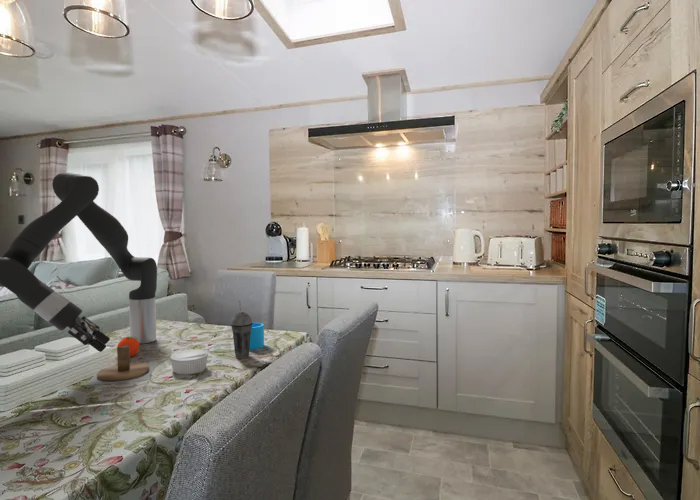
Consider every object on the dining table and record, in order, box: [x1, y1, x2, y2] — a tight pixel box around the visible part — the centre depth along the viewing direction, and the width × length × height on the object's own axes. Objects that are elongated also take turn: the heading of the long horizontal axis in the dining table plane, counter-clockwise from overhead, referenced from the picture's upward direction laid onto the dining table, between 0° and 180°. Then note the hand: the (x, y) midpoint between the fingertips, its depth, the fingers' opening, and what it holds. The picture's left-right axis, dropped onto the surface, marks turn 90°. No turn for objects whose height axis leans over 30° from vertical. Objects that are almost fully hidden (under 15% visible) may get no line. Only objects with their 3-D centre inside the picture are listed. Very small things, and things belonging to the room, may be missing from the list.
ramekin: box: [170, 348, 209, 375], centre depth 128 cm, size 11×11×5 cm
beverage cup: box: [230, 299, 254, 360], centre depth 142 cm, size 7×7×20 cm
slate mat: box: [84, 362, 158, 387], centre depth 125 cm, size 16×16×1 cm
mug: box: [250, 322, 265, 350], centre depth 156 cm, size 12×8×8 cm
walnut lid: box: [96, 346, 149, 382], centre depth 124 cm, size 14×14×8 cm
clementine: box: [116, 336, 141, 358], centre depth 142 cm, size 8×7×7 cm
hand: (105, 345), depth 122 cm, fingers open, 8 cm apart
